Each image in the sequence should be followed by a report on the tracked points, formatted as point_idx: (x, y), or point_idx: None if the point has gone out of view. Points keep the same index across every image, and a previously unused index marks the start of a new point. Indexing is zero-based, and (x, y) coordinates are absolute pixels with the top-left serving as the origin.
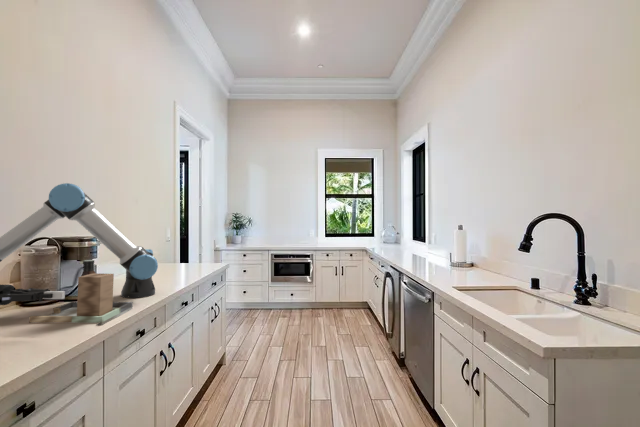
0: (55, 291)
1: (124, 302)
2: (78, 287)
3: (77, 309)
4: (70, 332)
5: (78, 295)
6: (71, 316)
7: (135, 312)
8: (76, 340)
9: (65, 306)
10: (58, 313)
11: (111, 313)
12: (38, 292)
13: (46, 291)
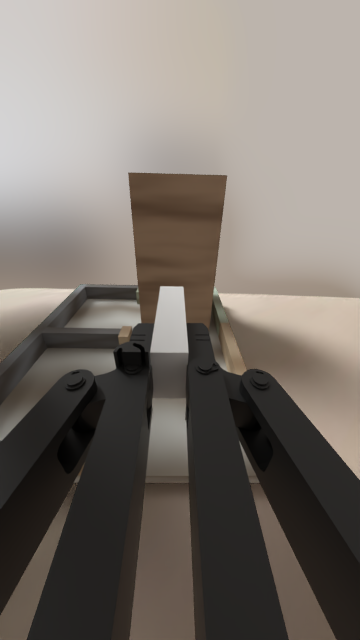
0: (169, 308)
1: (77, 292)
2: (220, 226)
3: (211, 305)
4: (270, 323)
5: (216, 258)
6: (225, 325)
7: None
8: (297, 302)
9: None
10: None
11: None
12: (202, 389)
13: (168, 347)
